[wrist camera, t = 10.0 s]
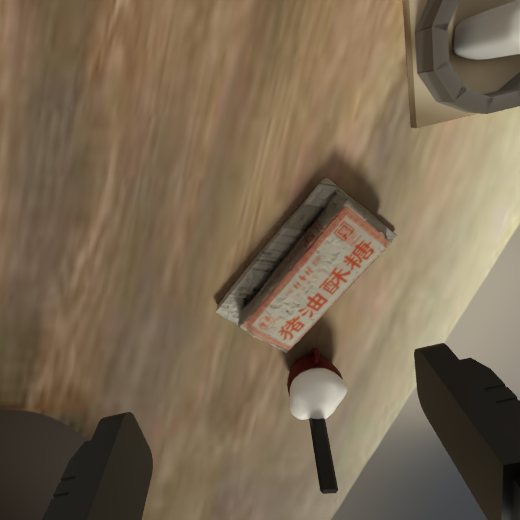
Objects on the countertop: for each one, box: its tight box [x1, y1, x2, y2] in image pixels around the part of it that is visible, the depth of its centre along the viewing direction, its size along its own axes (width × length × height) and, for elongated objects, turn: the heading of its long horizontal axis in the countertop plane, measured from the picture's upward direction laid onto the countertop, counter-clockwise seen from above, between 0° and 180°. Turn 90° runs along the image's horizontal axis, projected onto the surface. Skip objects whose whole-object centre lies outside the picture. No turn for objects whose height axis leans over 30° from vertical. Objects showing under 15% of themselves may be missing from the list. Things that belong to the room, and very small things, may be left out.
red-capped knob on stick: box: [287, 348, 348, 494], centre depth 40 cm, size 10×6×12 cm, turn 157°
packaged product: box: [216, 178, 397, 353], centre depth 38 cm, size 18×5×10 cm
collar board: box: [403, 0, 520, 128], centre depth 31 cm, size 12×12×4 cm
